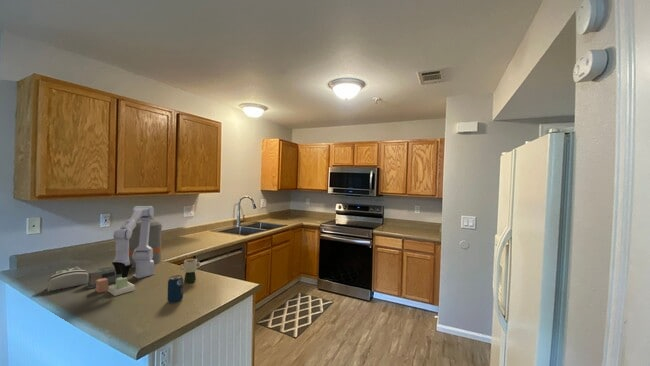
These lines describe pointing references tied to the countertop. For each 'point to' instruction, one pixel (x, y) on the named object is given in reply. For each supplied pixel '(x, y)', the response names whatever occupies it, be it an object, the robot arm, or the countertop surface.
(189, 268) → the character mug
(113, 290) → the off-white tray
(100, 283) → the terracotta block
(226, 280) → the countertop surface
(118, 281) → the sage green block
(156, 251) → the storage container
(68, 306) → the countertop surface
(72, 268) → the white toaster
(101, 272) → the grey unit
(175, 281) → the soda can
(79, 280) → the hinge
